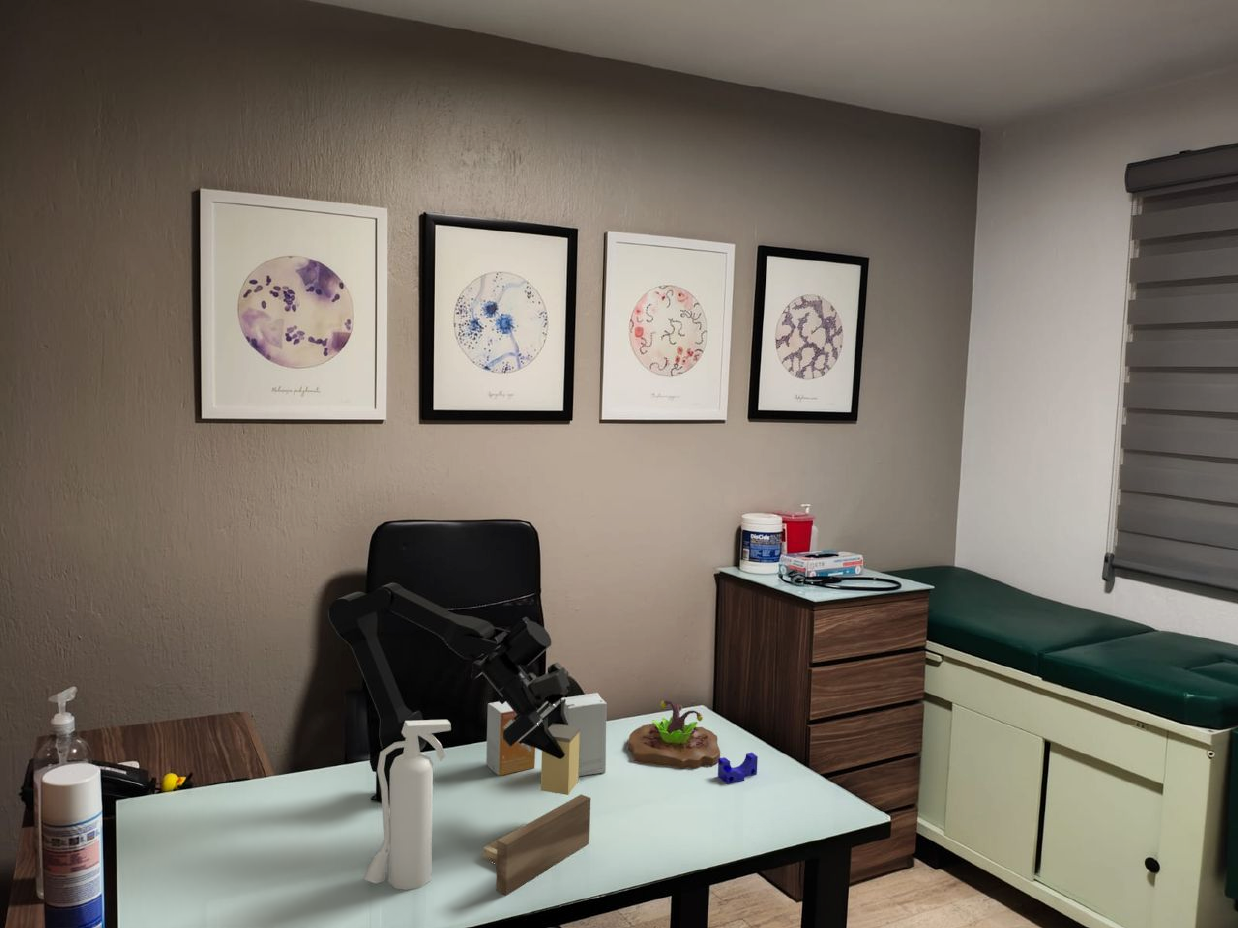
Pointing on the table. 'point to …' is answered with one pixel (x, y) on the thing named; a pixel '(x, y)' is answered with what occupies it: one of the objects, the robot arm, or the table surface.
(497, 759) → the small box
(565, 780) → the grey-topped square block
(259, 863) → the table surface
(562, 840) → the wall board
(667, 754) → the plant
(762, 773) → the table surface
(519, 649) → the robot arm
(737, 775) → the cable holder
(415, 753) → the fire extinguisher
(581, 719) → the skincare box
